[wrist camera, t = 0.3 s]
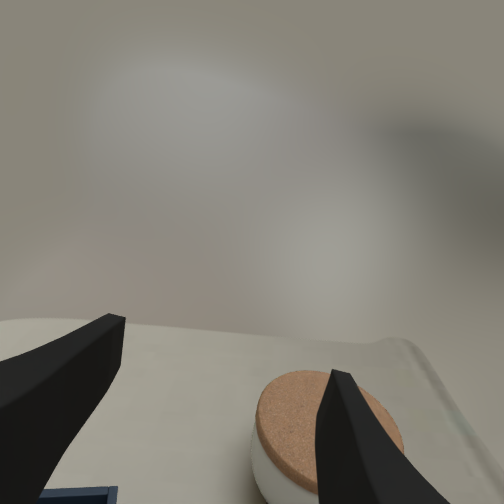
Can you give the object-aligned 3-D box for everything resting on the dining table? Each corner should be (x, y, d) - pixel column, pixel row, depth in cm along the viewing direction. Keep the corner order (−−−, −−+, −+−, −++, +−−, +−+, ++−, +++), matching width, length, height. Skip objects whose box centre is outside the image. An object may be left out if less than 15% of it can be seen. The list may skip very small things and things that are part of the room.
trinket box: (214, 516, 30) (238, 424, 26) (264, 416, 40) (288, 337, 36) (359, 596, 28) (410, 507, 24) (377, 469, 37) (416, 389, 33)
